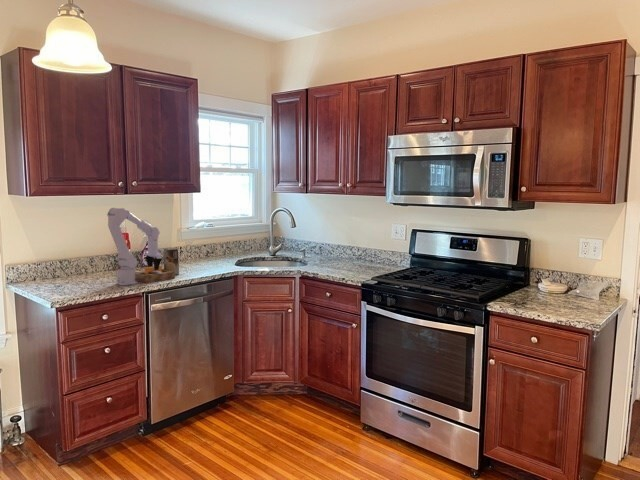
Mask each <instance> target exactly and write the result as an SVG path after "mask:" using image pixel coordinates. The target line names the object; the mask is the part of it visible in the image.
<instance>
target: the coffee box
mask: <svg viewBox="0 0 640 480" xmlns="http://www.w3.org/2000/svg"><path fill="white" fill-rule="evenodd" d="M162 253H163V269H166V270H169V271H173V272H175V276H176V275H180V265H179V264H180V263H179V248H163V252H162Z"/></svg>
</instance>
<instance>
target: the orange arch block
mask: <svg viewBox="0 0 640 480" xmlns="http://www.w3.org/2000/svg"><path fill="white" fill-rule="evenodd" d="M143 269H144V271H145V275H148V272H150V271H157V270H155V269H154V266H153V267H148V266H147V267H144V268H143ZM162 269H163V268H162V265H159V269H158V271H160V272H162Z"/></svg>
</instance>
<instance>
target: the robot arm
mask: <svg viewBox="0 0 640 480" xmlns="http://www.w3.org/2000/svg"><path fill="white" fill-rule="evenodd" d="M106 216H107V227H108V229H109V233H110V234H111V237H112V240H113V242H114V245H115V247H116V250H117V252H118V255H117V260H118V262H117V263H118V265H119V266H120V268H119V269H117V270H116V273H115V274H116V285H119V286H129V285H135V284H138V283H139V281H136V280H135V272H136V267H137V265H138V260H137V258H136V257H135V256H134V254H133V253H132V252H131V251H130V250H129V248H128V245H127V242H126V239H125V237H124V235H123V232H122V229H121V227H120V226H121V224H122V223H124V221H125V220H128V221H129V222H131V223H132V224H135V225H136V227H137V229H138V230H140V231H142V232H143V233H144V234H145V235H146V236H147V252H145V256H144V259H145V261H146V265H147V267H154V269H155V270H158V269H159V266H161V263H162V260H163V258H162V257H161V256H162V255H161V254H160V253H159V245H158V243H159V241H158V240H159V235H160V233H161V232H160V230H159V228H158V227H156V226H155V227H154V226H153V224H151V223H149V222H148V221H147V220H146V219H139V218H138V217H137V216H135V215H134V213H131V211H130V210H127V209H126V208H123V207H121V208H120V207H111V208H109V210H108V211H107V214H106Z"/></svg>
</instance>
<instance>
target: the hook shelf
mask: <svg viewBox="0 0 640 480" xmlns="http://www.w3.org/2000/svg"><path fill="white" fill-rule="evenodd" d="M175 276H176V275H175V272H173V271H169V270H166V269H164V268H162V272H160V271H158V270H157V271H150V272H148V275H145V270H144V271H143V270H142V271H135V282H138V283H143V284H146V283H153V282H159V280H160V281H167V280H174V279H175V278H176V277H175ZM166 279H167V280H166Z"/></svg>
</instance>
